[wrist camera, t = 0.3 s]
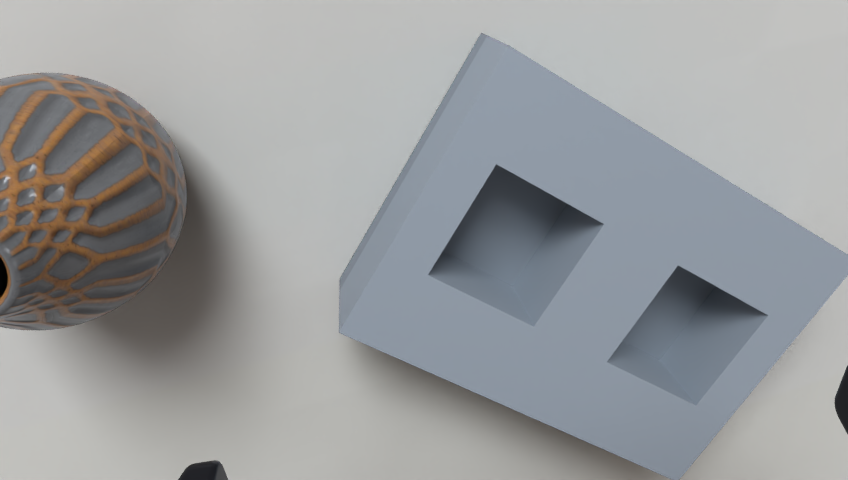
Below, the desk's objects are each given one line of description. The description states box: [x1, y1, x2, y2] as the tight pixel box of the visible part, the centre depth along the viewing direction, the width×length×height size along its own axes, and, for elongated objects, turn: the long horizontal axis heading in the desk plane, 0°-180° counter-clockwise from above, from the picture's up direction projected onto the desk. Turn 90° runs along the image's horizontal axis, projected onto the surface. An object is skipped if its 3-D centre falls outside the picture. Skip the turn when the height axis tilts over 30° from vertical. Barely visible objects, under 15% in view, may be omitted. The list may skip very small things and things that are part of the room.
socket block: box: [339, 33, 848, 480], centre depth 24 cm, size 10×14×4 cm
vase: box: [0, 73, 187, 330], centre depth 19 cm, size 7×7×9 cm
